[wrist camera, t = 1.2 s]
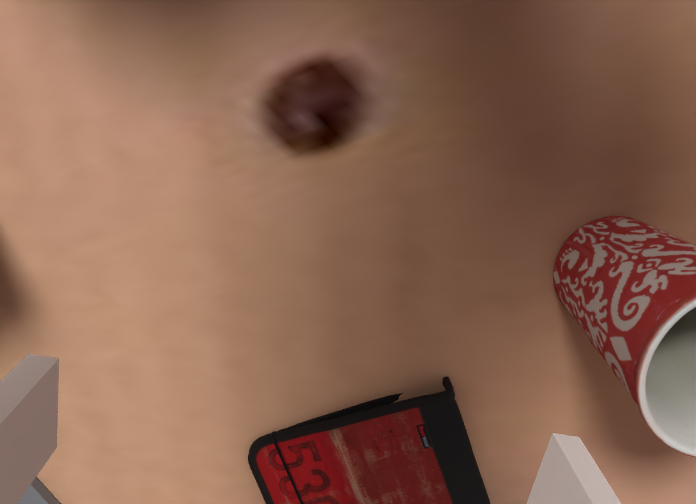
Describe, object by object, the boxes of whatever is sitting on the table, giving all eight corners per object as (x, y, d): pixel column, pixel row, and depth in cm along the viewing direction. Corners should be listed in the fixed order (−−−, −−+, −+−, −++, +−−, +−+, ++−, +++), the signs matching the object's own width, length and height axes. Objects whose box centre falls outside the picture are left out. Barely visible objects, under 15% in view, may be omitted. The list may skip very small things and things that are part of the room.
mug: (533, 334, 39) (629, 467, 26) (540, 206, 36) (652, 286, 24) (716, 323, 39) (901, 451, 26) (738, 194, 36) (957, 268, 24)
